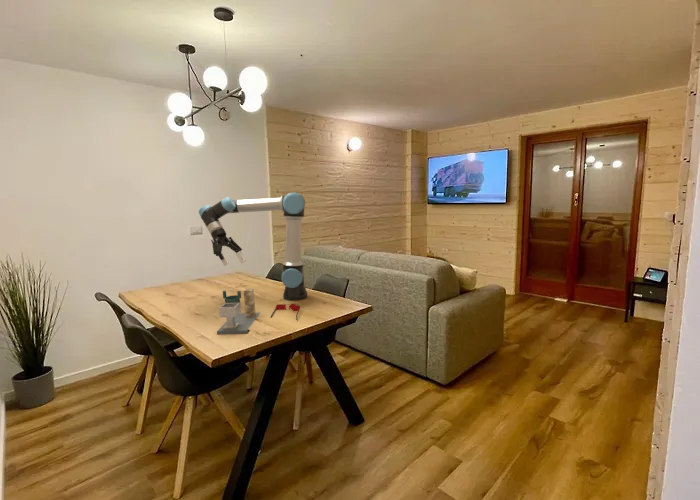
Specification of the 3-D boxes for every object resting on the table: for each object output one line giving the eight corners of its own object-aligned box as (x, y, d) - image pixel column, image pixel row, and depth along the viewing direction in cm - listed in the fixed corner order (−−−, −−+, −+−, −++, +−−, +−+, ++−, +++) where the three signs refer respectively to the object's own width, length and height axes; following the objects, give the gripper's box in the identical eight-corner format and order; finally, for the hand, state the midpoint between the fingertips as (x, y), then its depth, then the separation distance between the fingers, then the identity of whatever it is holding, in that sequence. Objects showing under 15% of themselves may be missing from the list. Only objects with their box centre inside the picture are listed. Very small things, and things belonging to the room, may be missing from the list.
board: (260, 315, 192) (260, 312, 192) (247, 333, 166) (247, 330, 166) (234, 316, 192) (234, 313, 191) (217, 334, 166) (216, 331, 166)
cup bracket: (241, 323, 175) (240, 302, 173) (237, 329, 167) (235, 307, 166) (226, 324, 175) (224, 303, 173) (220, 329, 167) (218, 307, 166)
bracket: (242, 306, 210) (241, 291, 209) (226, 308, 205) (224, 293, 204) (238, 302, 217) (237, 288, 216) (223, 305, 213) (221, 290, 212)
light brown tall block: (255, 314, 189) (253, 288, 186) (253, 316, 185) (251, 290, 183) (247, 314, 189) (245, 288, 186) (245, 317, 185) (243, 290, 183)
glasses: (300, 311, 197) (300, 302, 196) (297, 321, 181) (296, 312, 180) (275, 312, 197) (275, 303, 196) (269, 322, 181) (268, 313, 180)
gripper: (228, 234, 212) (245, 264, 208) (195, 235, 188) (214, 269, 185) (236, 227, 209) (254, 257, 206) (204, 227, 186) (223, 261, 182)
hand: (235, 263), depth 195 cm, fingers open, 13 cm apart
